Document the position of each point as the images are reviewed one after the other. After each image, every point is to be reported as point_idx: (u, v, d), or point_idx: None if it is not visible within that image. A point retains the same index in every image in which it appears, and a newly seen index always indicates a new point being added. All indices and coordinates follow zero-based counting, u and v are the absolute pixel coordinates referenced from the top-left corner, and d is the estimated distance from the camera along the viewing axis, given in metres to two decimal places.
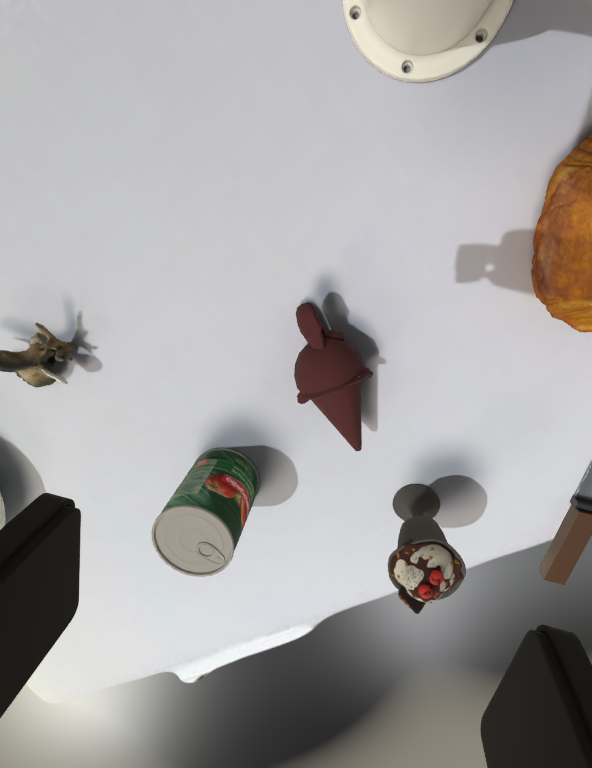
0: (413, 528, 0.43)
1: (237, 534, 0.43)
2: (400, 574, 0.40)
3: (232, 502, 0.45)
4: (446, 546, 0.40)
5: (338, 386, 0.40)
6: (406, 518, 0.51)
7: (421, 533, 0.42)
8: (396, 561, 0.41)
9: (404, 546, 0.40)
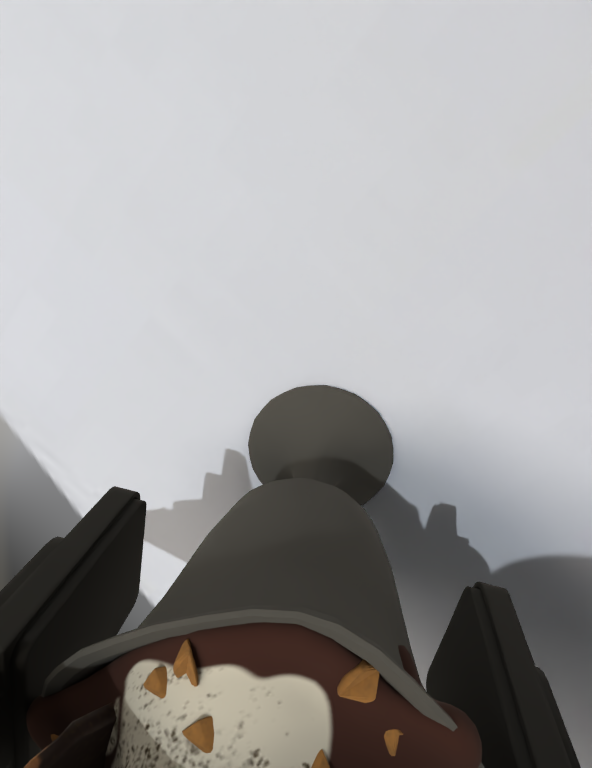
0: (393, 591, 0.09)
1: None
2: (228, 754, 0.05)
3: None
4: None
5: None
6: (266, 429, 0.15)
7: None
8: (301, 671, 0.05)
9: (451, 732, 0.05)
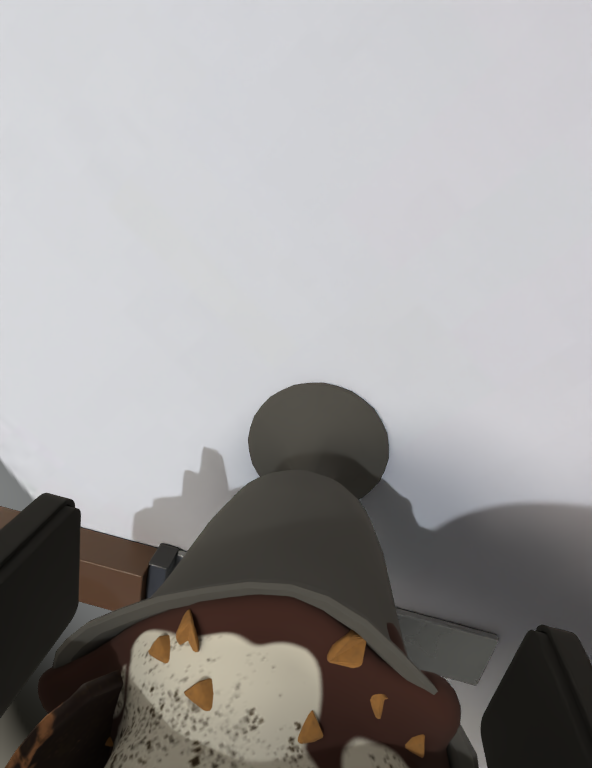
0: (385, 576, 0.09)
1: None
2: (226, 712, 0.05)
3: None
4: None
5: None
6: (266, 425, 0.16)
7: None
8: (295, 639, 0.06)
9: (432, 696, 0.06)
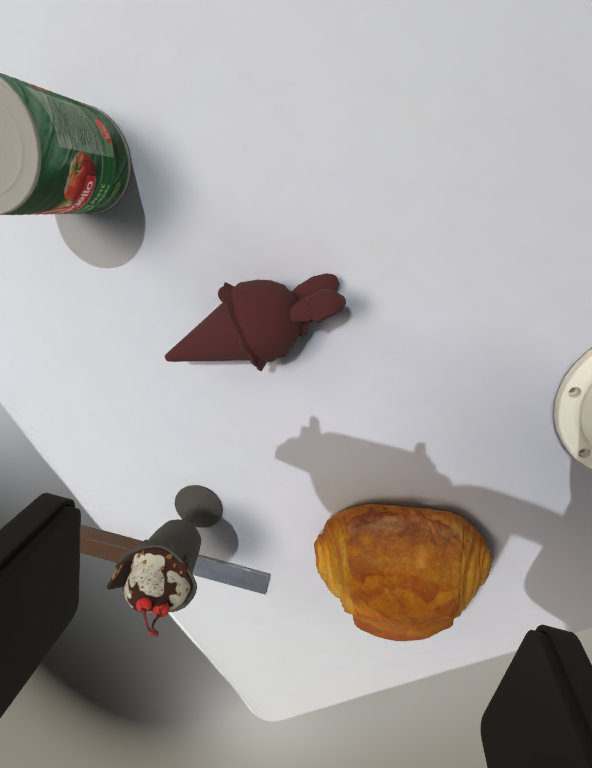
0: (192, 546, 0.39)
1: (10, 214, 0.29)
2: (148, 564, 0.36)
3: (58, 200, 0.30)
4: (189, 596, 0.38)
5: (247, 346, 0.33)
6: (180, 499, 0.46)
7: (192, 561, 0.39)
8: (160, 554, 0.36)
9: (182, 563, 0.36)
